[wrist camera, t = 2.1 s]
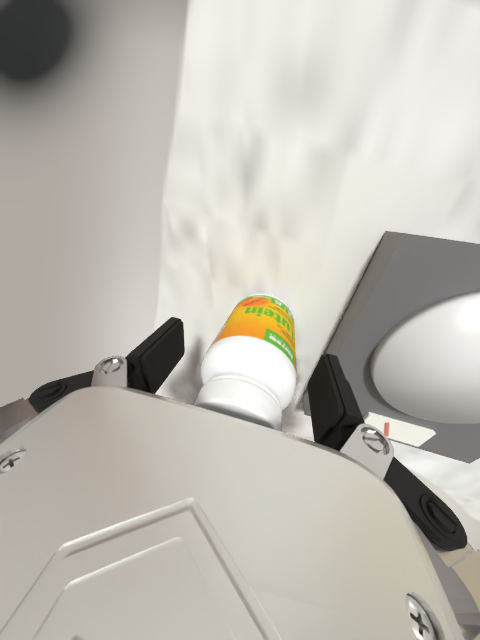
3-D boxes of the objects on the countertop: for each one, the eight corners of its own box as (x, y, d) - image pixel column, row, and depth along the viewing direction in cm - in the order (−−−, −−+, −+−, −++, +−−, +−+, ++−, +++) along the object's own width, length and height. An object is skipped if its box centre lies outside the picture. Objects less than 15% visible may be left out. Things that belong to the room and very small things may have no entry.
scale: (695, 276, 9) (850, 297, 6) (451, 439, 17) (477, 474, 14) (385, 231, 11) (413, 234, 8) (303, 396, 19) (305, 422, 16)
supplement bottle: (306, 307, 14) (330, 431, 6) (277, 353, 17) (266, 480, 9) (243, 281, 14) (181, 366, 6) (225, 331, 17) (167, 435, 9)
